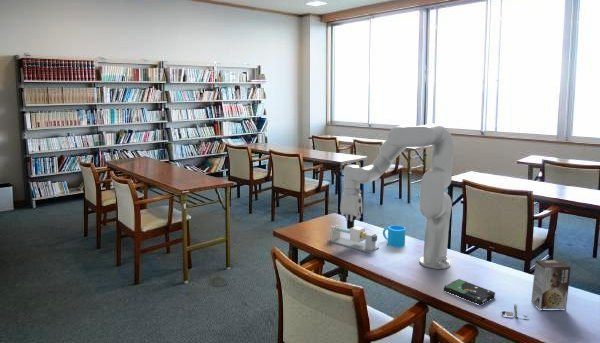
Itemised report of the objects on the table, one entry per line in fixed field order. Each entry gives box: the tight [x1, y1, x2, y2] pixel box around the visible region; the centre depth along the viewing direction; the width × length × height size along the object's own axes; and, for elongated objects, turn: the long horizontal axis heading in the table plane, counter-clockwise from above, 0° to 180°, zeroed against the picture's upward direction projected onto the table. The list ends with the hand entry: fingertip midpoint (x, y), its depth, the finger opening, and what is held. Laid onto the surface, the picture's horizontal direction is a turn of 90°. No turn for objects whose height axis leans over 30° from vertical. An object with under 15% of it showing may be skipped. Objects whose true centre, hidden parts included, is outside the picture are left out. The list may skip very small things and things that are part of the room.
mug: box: [382, 225, 407, 248], centre depth 220 cm, size 12×8×8 cm
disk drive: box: [443, 278, 496, 306], centre depth 167 cm, size 10×3×15 cm
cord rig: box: [327, 224, 380, 254], centre depth 217 cm, size 24×8×8 cm, turn 50°
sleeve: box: [349, 225, 366, 243], centre depth 215 cm, size 5×5×6 cm
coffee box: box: [530, 259, 572, 310], centre depth 157 cm, size 9×6×16 cm
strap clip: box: [501, 304, 518, 318], centre depth 151 cm, size 8×3×4 cm, turn 73°
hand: (350, 228), depth 217 cm, fingers closed
